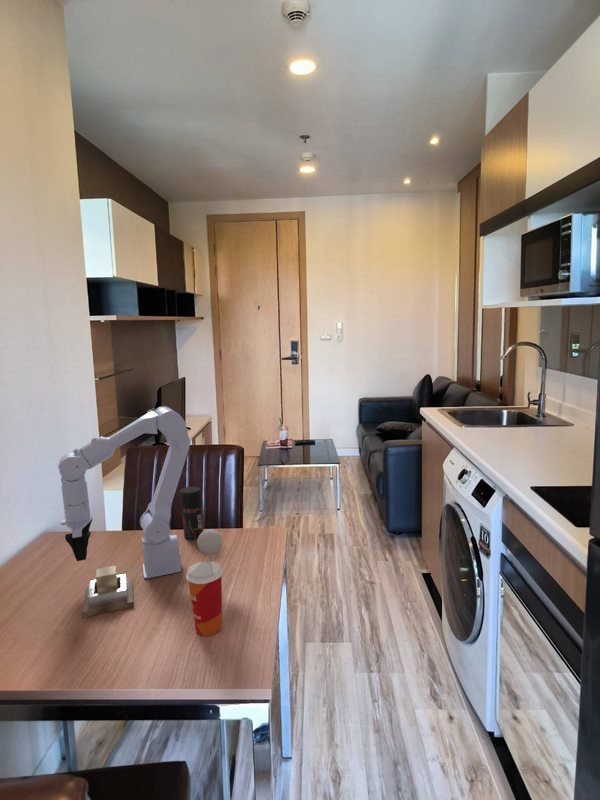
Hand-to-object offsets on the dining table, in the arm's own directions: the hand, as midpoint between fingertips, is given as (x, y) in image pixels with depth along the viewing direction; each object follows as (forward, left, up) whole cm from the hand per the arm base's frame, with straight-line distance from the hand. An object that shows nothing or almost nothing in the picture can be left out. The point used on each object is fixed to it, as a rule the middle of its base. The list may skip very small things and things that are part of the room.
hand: (82, 553), depth 127 cm
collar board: (-6, +8, -9) cm, 14 cm away
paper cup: (-26, +30, -10) cm, 41 cm away
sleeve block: (-6, +8, -8) cm, 13 cm away
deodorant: (-30, -20, -10) cm, 37 cm away
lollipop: (-30, +13, -10) cm, 34 cm away
